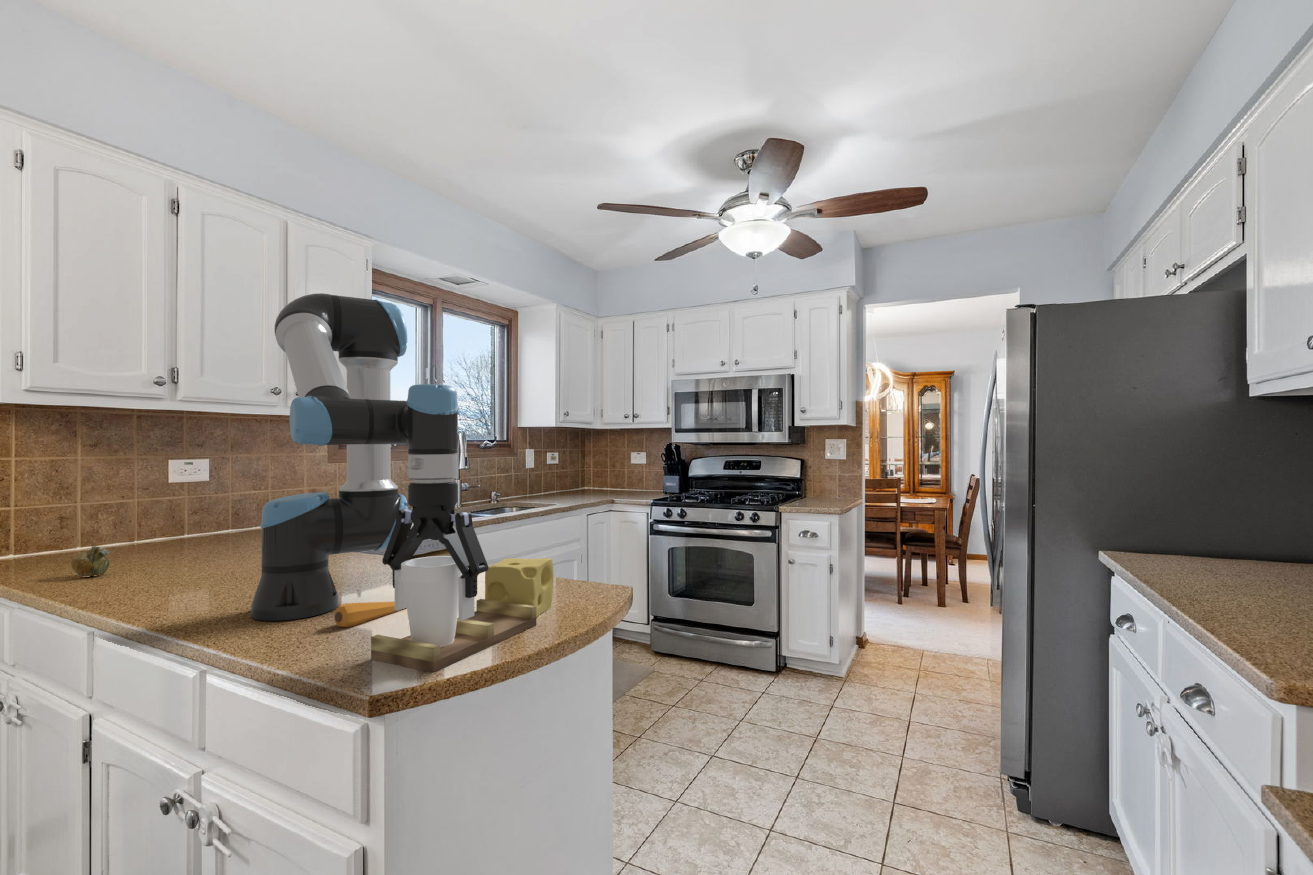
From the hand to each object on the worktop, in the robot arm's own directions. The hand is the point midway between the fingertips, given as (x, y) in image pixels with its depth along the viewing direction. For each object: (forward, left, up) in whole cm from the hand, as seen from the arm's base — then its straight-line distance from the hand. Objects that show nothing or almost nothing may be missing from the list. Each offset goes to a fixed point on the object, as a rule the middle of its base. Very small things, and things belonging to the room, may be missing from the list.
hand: (433, 613), depth 98 cm
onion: (-124, +7, -7) cm, 124 cm away
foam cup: (0, 0, -5) cm, 5 cm away
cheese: (-2, +24, -7) cm, 25 cm away
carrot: (-25, +12, -7) cm, 29 cm away
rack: (0, +6, -6) cm, 9 cm away
